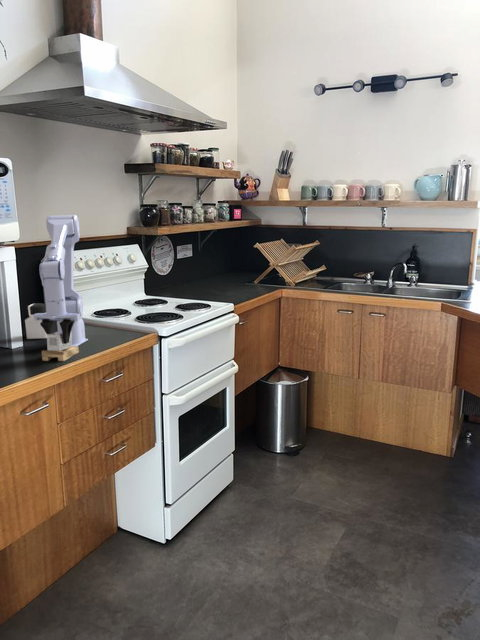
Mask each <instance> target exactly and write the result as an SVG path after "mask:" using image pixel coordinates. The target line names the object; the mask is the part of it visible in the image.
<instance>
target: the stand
mask: <svg viewBox="0 0 480 640" xmlns="http://www.w3.org/2000/svg"><path fill="white" fill-rule="evenodd" d="M79 349H80V348H79V346H72V347H70V348H67V349H64V350H61V351H48V349H46V350H41V359H42V361H44V362H48V361H51V360H52V359H54V358H57V361H58V362H65V361H66V360H68V359H70V358H72V357H73V356H74V355H77V354H78V353H80V350H79Z"/></svg>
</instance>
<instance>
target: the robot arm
mask: <svg viewBox="0 0 480 640" xmlns="http://www.w3.org/2000/svg"><path fill="white" fill-rule="evenodd" d="M45 222H46V223H45V225H46V229H47V232H48V235H49V237H50V244H48V245H47V246H46V249H45V253H44V254H45V255H44V258H43V261H42V262H41V263H40V264H39V269H38V271H39V276H40V280H41V285H42V287H43V290H44V291H43V293H44V299H45V300H44V301H45V305H46V313H36V314H34V320H35V321H37V320H42V322H41V323H40V325H41V326H42V327H43V329H44V330H45V332H46V334H50V333H55V332H56V326H57V332H59V331H62V333H63V341H64V344H67V343H68V342H69V338H70V333H71V331H72V346H78V347H79V346H81V345H82V344H84V343H85V342H87V341H88V340H89V339H88V338H86V332H85V331H86V330H85V329H86V328H85V322H84V320H83V318H81V317H82V316H83V315H84V303H83V298H82V296H81V294H80V293H79V292H77V291H76V290H75V289H74V286H75V285H74V284H75V283H74V250H75V244H76V243H78V242H79V241H80V237H81V235H80V219H79V216H77V214H69V215H66V214H65V215H62V214H61V215H47V217H46V220H45Z"/></svg>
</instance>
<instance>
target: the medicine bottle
mask: <svg viewBox="0 0 480 640" xmlns="http://www.w3.org/2000/svg"><path fill="white" fill-rule="evenodd" d="M27 310H28V311H27V312H28V316H29V317H27V318H25V319H24V323H25V333H26V339H27V340H34V339H35V340H37V339H47V334H46V332H45V330H44V329H43V327H42V326H41V325H40V323H41V322H42V320H37V321H35V320H34V314H36V313H47V310H46V303H43V302H42V303H41V302H40V303H39V302H37V303H32V304H30V305H27Z"/></svg>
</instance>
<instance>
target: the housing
mask: <svg viewBox="0 0 480 640" xmlns="http://www.w3.org/2000/svg"><path fill="white" fill-rule="evenodd" d="M46 344H47V346H46V347H47V349H46V350H48V351H61V350H64V349H67V348H70V347H72V331H71V333H70V338H69V342H68V343H67V344H64V341H63V333H62V331H59V332H58V331H55V333H50V334H47V338H46Z"/></svg>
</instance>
